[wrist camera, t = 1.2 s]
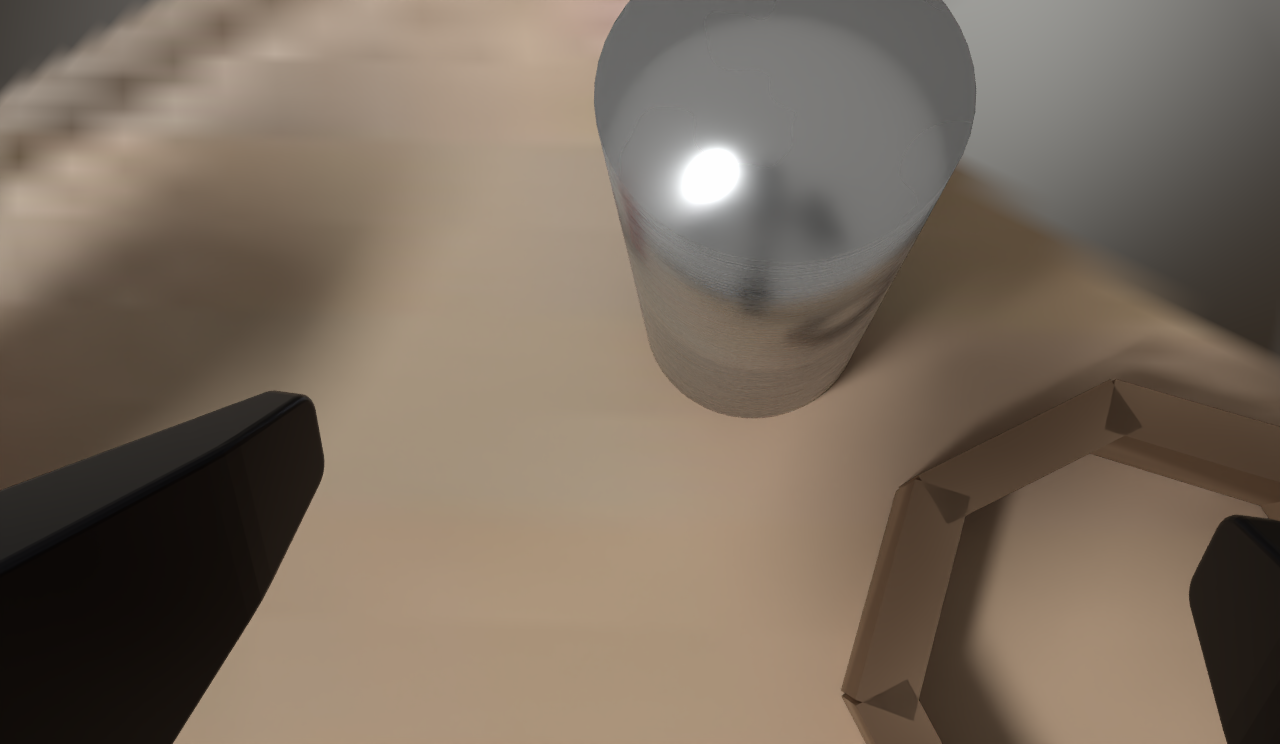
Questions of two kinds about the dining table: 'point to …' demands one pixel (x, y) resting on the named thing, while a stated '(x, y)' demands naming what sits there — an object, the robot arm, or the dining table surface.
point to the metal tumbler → (775, 178)
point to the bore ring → (942, 496)
